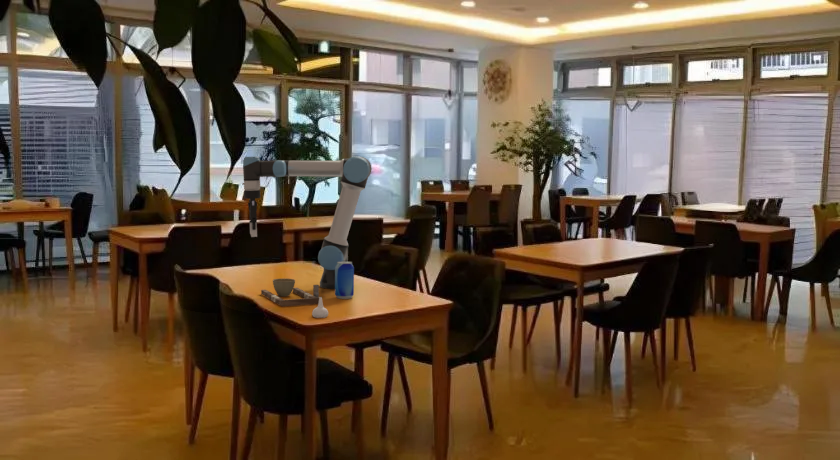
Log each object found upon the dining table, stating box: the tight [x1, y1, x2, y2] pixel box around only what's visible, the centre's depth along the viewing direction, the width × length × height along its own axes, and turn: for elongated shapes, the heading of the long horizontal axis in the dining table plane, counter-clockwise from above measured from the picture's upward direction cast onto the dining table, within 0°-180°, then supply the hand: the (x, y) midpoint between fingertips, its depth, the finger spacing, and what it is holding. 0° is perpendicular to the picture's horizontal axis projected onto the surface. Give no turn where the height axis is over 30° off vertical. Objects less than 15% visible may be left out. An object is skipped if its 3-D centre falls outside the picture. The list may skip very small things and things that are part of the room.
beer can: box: [334, 261, 355, 300], centre depth 352 cm, size 8×8×16 cm
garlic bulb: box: [311, 296, 329, 319], centre depth 310 cm, size 6×6×8 cm
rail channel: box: [260, 284, 320, 307], centre depth 347 cm, size 32×21×6 cm, turn 27°
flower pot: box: [272, 278, 296, 297], centre depth 354 cm, size 10×10×7 cm
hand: (253, 235), depth 366 cm, fingers open, 13 cm apart
